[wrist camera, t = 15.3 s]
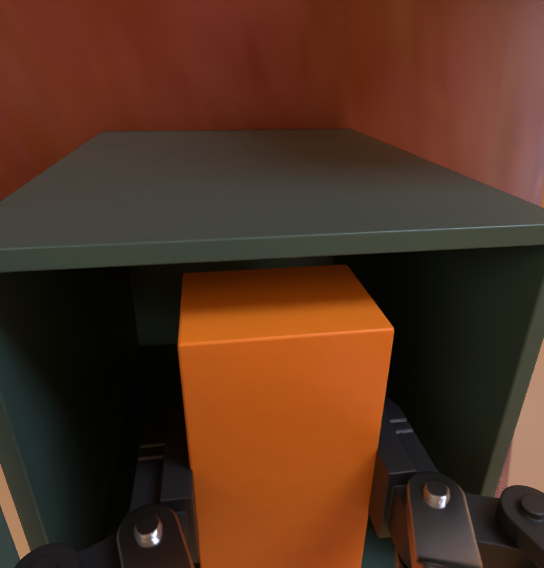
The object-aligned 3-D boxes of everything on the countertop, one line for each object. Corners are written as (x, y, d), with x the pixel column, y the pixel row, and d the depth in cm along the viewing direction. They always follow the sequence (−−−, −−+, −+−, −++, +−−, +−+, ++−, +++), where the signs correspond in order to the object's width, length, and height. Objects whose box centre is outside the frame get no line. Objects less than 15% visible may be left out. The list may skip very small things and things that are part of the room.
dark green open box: (133, 349, 28) (65, 653, 14) (100, 131, 23) (-75, 251, 8) (335, 334, 30) (466, 588, 15) (350, 128, 25) (580, 222, 10)
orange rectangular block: (203, 506, 16) (204, 614, 13) (182, 272, 12) (177, 344, 9) (328, 491, 17) (358, 590, 13) (346, 263, 13) (395, 328, 9)
